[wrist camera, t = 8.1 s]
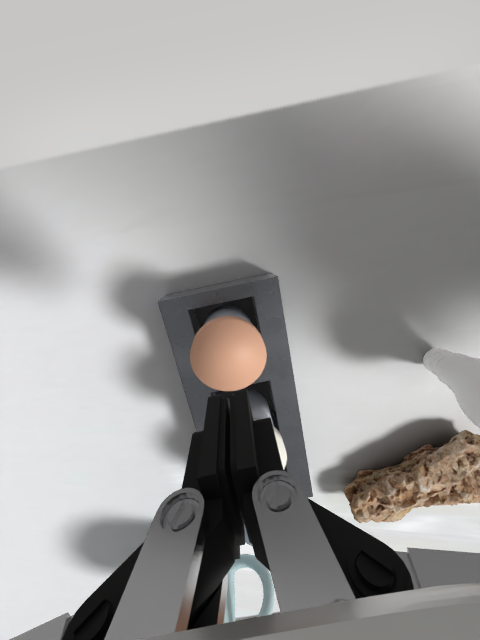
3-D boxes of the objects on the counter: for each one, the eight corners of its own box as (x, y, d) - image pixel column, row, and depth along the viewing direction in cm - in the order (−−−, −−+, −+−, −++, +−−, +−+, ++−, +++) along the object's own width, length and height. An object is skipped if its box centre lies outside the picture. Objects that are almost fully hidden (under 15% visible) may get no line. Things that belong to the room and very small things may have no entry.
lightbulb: (389, 358, 27) (495, 430, 16) (435, 316, 26) (581, 364, 15) (422, 392, 28) (541, 479, 18) (468, 353, 27) (623, 420, 16)
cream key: (267, 380, 24) (281, 423, 18) (276, 425, 25) (291, 480, 19) (213, 391, 24) (208, 438, 18) (225, 436, 25) (224, 494, 19)
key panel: (271, 272, 24) (277, 276, 21) (304, 472, 30) (313, 496, 27) (166, 295, 24) (157, 301, 21) (222, 489, 30) (222, 515, 27)
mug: (177, 583, 34) (158, 713, 25) (151, 536, 32) (118, 660, 22) (274, 556, 34) (293, 678, 24) (256, 507, 31) (269, 621, 22)
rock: (377, 552, 31) (351, 523, 26) (355, 506, 35) (330, 474, 31) (518, 498, 28) (516, 454, 24) (475, 455, 33) (467, 411, 28)
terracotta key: (250, 295, 22) (259, 313, 17) (260, 349, 24) (272, 382, 18) (192, 308, 23) (181, 329, 17) (206, 360, 24) (200, 397, 18)
